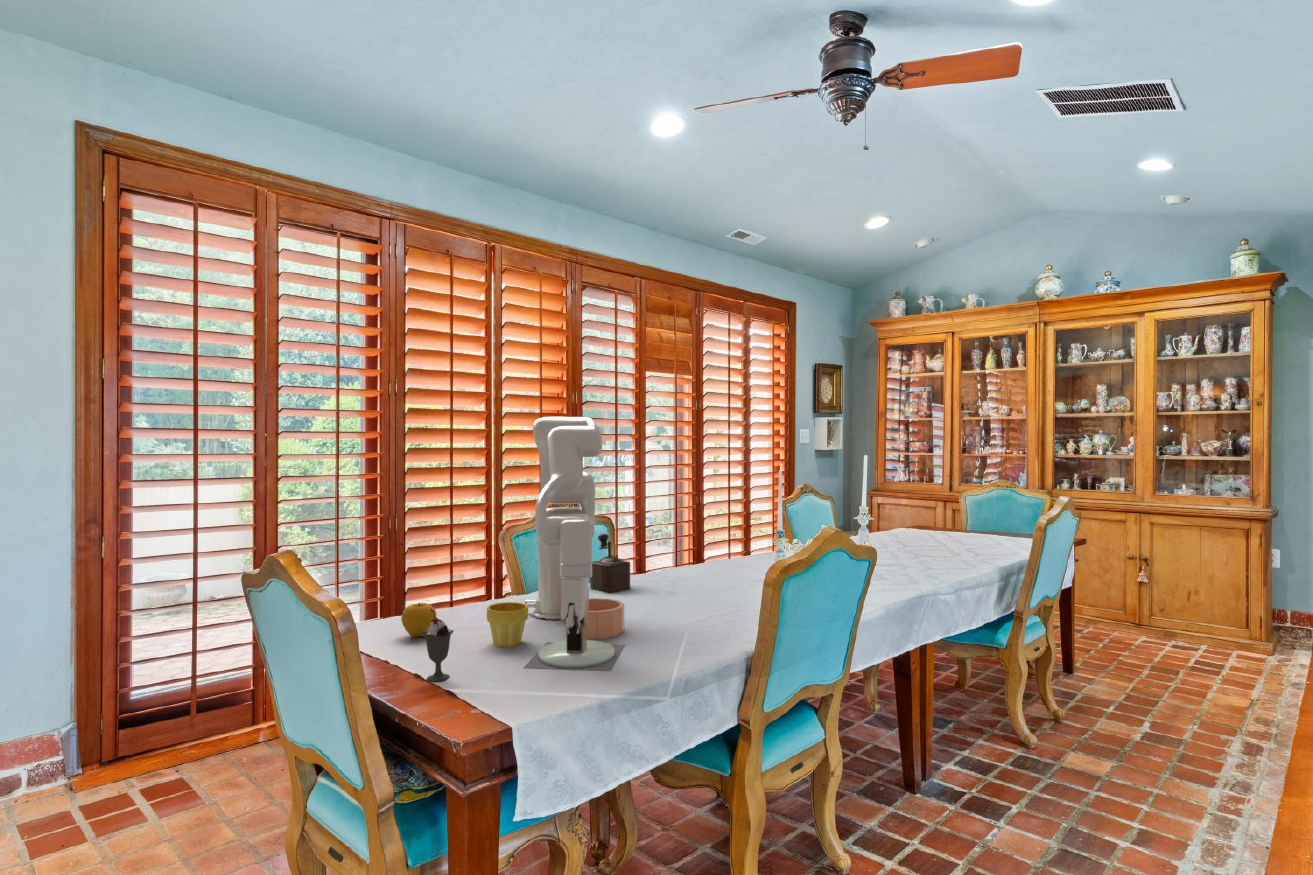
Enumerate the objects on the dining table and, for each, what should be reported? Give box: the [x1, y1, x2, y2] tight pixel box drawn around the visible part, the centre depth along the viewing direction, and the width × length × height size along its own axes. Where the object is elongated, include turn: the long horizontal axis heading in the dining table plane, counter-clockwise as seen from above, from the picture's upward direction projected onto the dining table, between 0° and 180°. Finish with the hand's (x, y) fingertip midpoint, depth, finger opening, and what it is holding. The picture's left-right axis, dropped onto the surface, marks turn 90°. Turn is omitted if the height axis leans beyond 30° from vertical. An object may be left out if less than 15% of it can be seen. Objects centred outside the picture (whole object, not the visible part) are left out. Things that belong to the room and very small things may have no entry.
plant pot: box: [486, 601, 529, 648], centre depth 181 cm, size 10×10×10 cm
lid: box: [537, 623, 615, 668], centre depth 170 cm, size 18×18×7 cm
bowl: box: [565, 597, 625, 640], centre depth 192 cm, size 15×15×8 cm
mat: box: [523, 641, 626, 672], centre depth 170 cm, size 20×20×1 cm
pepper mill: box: [589, 533, 631, 594], centre depth 249 cm, size 16×11×18 cm
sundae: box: [422, 609, 454, 683], centre depth 156 cm, size 7×7×15 cm
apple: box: [400, 602, 437, 638], centre depth 189 cm, size 9×9×9 cm
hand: (576, 646), depth 170 cm, fingers closed on lid, 4 cm apart
